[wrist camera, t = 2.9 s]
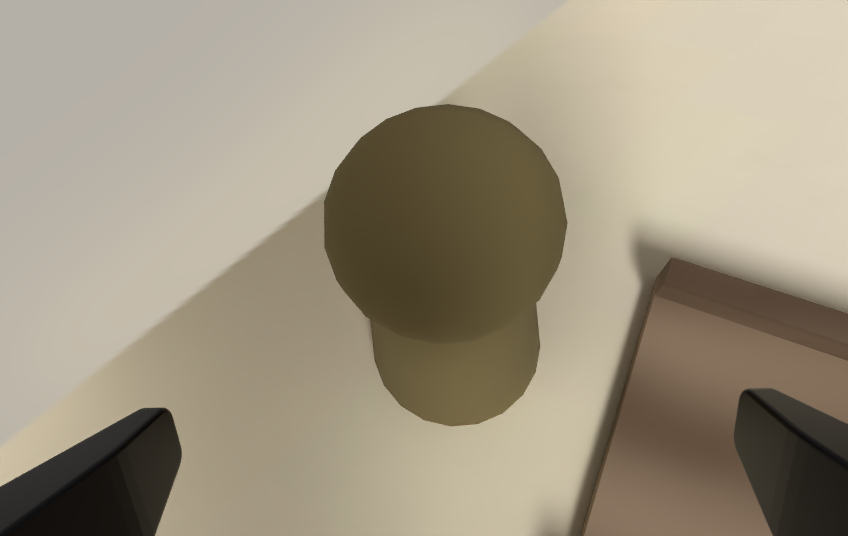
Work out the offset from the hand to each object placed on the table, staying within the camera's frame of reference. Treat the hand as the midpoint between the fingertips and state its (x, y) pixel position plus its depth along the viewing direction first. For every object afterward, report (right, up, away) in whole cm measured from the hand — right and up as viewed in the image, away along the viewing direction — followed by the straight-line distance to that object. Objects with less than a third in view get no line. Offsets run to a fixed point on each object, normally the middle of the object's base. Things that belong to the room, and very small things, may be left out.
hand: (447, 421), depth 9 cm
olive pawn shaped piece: (+1, 0, +12) cm, 12 cm away
